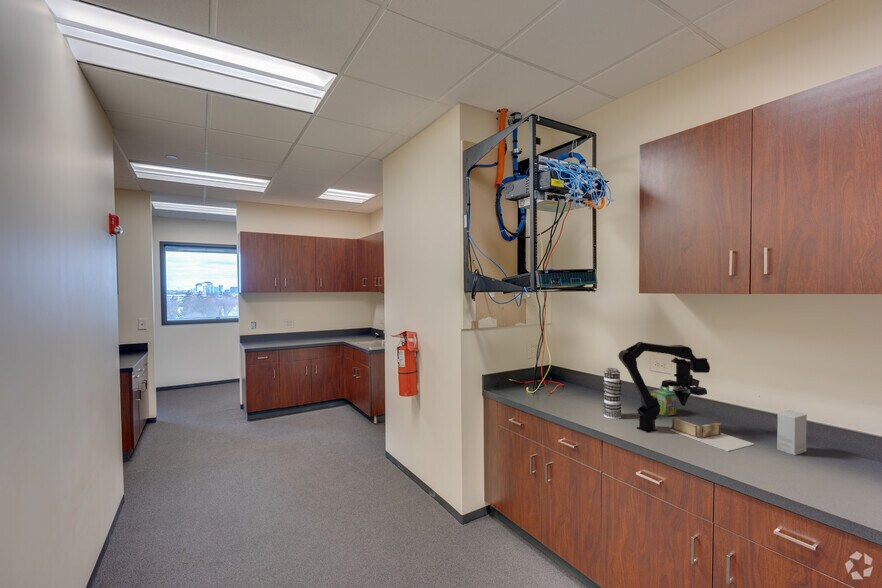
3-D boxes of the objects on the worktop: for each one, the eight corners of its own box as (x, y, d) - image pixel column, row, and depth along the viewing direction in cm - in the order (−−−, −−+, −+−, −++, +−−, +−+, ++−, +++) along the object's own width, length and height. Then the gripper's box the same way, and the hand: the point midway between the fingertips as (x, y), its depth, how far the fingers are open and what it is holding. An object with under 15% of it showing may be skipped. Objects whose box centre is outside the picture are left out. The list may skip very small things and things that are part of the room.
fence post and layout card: (728, 451, 160) (728, 437, 160) (668, 429, 186) (668, 417, 185) (754, 444, 167) (754, 431, 167) (693, 424, 192) (693, 413, 192)
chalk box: (650, 412, 212) (650, 384, 212) (661, 409, 216) (661, 382, 216) (666, 417, 204) (666, 388, 203) (677, 414, 207) (677, 386, 207)
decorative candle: (625, 418, 202) (625, 370, 201) (609, 419, 200) (609, 371, 200) (615, 413, 211) (615, 366, 210) (599, 414, 209) (599, 367, 209)
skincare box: (788, 446, 165) (789, 409, 165) (808, 452, 159) (808, 414, 158) (776, 449, 162) (776, 412, 162) (795, 455, 156) (795, 417, 155)
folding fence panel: (703, 437, 174) (703, 426, 174) (700, 436, 176) (699, 425, 176) (721, 434, 178) (721, 423, 178) (717, 432, 179) (717, 422, 179)
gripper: (715, 374, 178) (715, 408, 178) (676, 367, 195) (676, 398, 195) (698, 377, 173) (698, 412, 174) (660, 369, 191) (660, 401, 191)
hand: (683, 405), depth 183 cm, fingers closed
